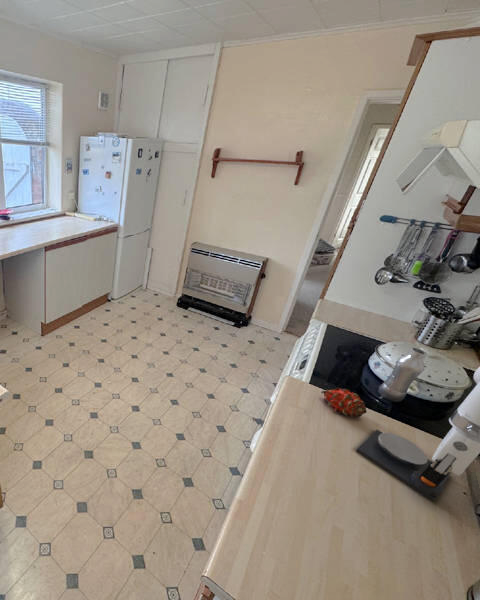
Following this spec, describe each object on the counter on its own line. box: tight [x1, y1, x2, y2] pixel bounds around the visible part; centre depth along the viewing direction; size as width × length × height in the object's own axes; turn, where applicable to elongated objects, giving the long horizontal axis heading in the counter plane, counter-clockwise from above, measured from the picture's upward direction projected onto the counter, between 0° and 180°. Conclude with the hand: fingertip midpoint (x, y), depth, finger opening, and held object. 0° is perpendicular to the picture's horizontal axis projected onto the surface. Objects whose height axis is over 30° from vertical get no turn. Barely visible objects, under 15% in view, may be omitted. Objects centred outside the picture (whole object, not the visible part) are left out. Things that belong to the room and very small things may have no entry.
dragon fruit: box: [320, 387, 367, 419], centre depth 103 cm, size 8×8×12 cm
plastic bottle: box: [377, 347, 428, 403], centre depth 108 cm, size 6×7×20 cm
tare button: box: [420, 476, 435, 487], centre depth 79 cm, size 3×3×2 cm
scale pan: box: [378, 432, 428, 466], centre depth 87 cm, size 10×10×1 cm
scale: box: [355, 429, 452, 503], centre depth 86 cm, size 16×14×4 cm
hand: (429, 478), depth 79 cm, fingers closed
